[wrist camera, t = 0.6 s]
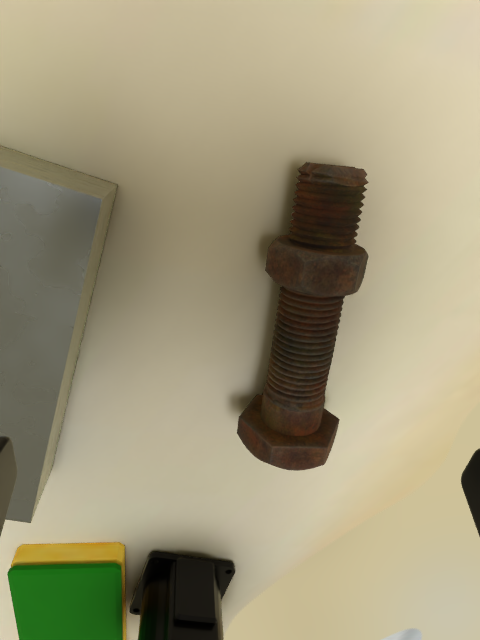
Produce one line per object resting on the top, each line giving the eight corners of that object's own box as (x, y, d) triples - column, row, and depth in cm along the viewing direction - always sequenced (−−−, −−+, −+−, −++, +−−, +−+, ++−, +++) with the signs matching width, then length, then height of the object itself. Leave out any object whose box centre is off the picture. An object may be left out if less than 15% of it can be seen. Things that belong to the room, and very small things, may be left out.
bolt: (326, 162, 23) (285, 403, 29) (250, 155, 20) (221, 425, 26) (424, 175, 19) (353, 455, 24) (346, 169, 16) (287, 488, 22)
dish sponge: (125, 537, 31) (120, 569, 29) (126, 652, 37) (122, 685, 34) (19, 539, 30) (6, 572, 28) (37, 656, 36) (28, 691, 33)
